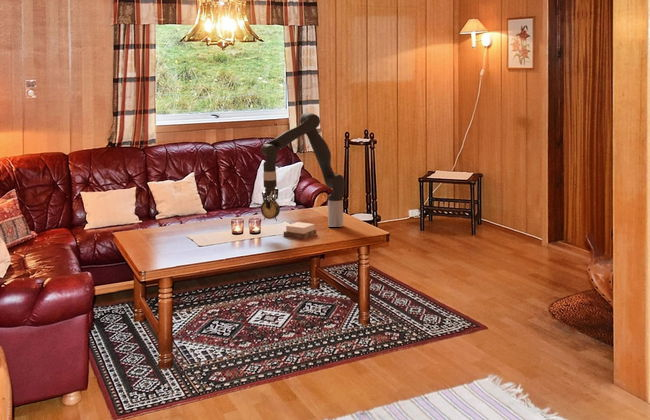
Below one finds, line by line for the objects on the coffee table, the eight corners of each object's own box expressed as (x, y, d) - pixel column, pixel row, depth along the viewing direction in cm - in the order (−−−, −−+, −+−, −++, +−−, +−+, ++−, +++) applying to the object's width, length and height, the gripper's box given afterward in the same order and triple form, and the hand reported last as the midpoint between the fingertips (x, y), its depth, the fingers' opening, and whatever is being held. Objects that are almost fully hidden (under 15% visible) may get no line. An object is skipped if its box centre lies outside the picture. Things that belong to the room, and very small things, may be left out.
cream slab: (297, 227, 429) (297, 221, 428) (314, 229, 423) (314, 224, 423) (286, 231, 419) (286, 225, 418) (303, 233, 413) (303, 227, 412)
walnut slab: (296, 232, 431) (296, 227, 430) (316, 235, 424) (316, 229, 423) (283, 237, 419) (283, 231, 419) (303, 240, 412) (303, 234, 411)
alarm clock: (260, 220, 417) (259, 192, 414) (265, 218, 422) (264, 191, 418) (276, 221, 412) (275, 194, 409) (281, 219, 417) (280, 192, 413)
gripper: (268, 181, 404) (269, 210, 408) (282, 177, 416) (283, 206, 420) (257, 180, 408) (258, 209, 411) (271, 176, 420) (272, 205, 423)
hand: (270, 207), depth 415 cm, fingers closed on alarm clock, 5 cm apart
